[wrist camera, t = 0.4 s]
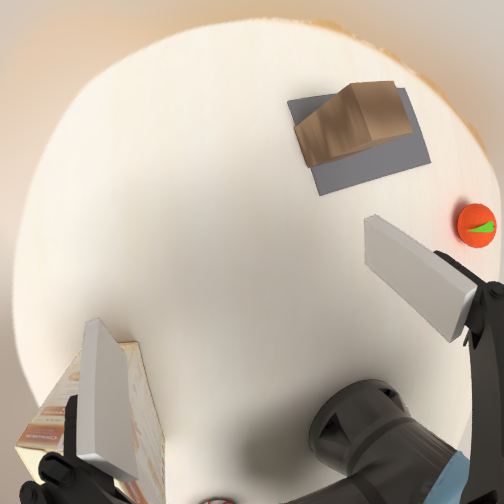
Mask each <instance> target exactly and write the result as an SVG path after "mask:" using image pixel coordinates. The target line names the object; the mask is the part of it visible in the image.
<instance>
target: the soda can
mask: <svg viewBox="0 0 504 504" xmlns="http://www.w3.org/2000/svg"><path fill="white" fill-rule="evenodd" d="M204 504H234V503H232V502H229V501H224V500H214V501H209V502H206V503H204Z"/></svg>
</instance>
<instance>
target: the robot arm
mask: <svg viewBox="0 0 504 504" xmlns="http://www.w3.org/2000/svg"><path fill="white" fill-rule="evenodd" d="M364 234H365V265H366V266H368V267H369V268H370V269H371V270H372V271H373V272H374V273H375V274H377V275H378V276H379V277H380V278H381V279H382V280H383V281H384V282H385V283H387V284H388V285H389V286H390V287H391V288H392V289H393V290H394V291H395V292H396V293H398V294H399V295H400V296H401V297H402V298H403V299H404V300H405V301H406V302H407V303H408V304H409V305H411V306H412V307H413V308H414V309H415V310H416V311H417V312H418V313H419V314H420V315H421V316H422V317H423V318H424V319H425V320H426V321H427V322H428V323H429V324H431V325H432V326H433V327H434V328H435V329H436V330H437V331H438V332H439V333H440V334H441V335H442V336H443V337H444V338H445V339H446V340H447V341H448V342H449V343H451V342H452V341H453V340H455V339H456V338H457V337H459V336H460V335H461V334H462V331H463V328H464V325H466V326H467V327H468V328H469V330H468V333H467V335H466V338H465V340H464V343H463V346H466V344H467V341H468V342H469V351H470V363H471V379H472V440H471V455H470V460H469V459H468V458H466V457H465V456H464V455H463V453H462V452H461V451H457V450H456V449H454V448H453V447H452V446H450V445H449V444H447V443H446V442H445V441H443V440H442V439H440V438H439V437H438V436H436V435H435V434H433V433H432V432H431V431H429V430H428V429H427V428H425V427H424V426H422V425H421V424H419V423H418V422H417V421H415V420H414V419H413V418H412V417H411V415H410V413H409V411H408V409H407V408H406V406H405V404H404V402H403V400H402V398H401V397H400V395H399V394H398V392H397V391H396V390H395V389H393V388H392V387H390V386H389V385H388V384H386V383H384V382H382V381H379V380H365V381H361V382H357V383H355V384H352V385H350V386H348V387H346V388H345V389H343V390H341V391H340V392H338V393H337V394H336V395H334V396H333V397H332V398H331V399H330V400H329V401H328V402H327V403H326V404H325V405H324V406H323V407H322V409H321V410H320V411H319V413H318V414H317V416H316V417H315V419H314V421H313V423H312V426H311V429H310V433H309V443H310V447H311V449H312V450H313V452H314V453H315V455H316V456H317V458H318V459H319V460H320V461H321V462H322V463H323V464H325V465H327V466H329V467H330V468H332V469H334V470H336V471H337V472H339V473H341V474H343V475H345V476H346V477H347V478H344V479H342V480H340V481H338V482H336V483H334V484H331V485H329V486H327V487H325V488H322V489H320V490H318V491H315V492H313V493H310V494H308V495H306V496H303V497H300V498H298V499H295V500H293V501H290V502H287V503H284V504H496V503H497V504H504V285H503V284H501V283H499V282H495V281H491V282H488V283H486V282H484V281H483V280H481V279H480V278H479V277H477V276H476V275H475V274H473V273H472V272H471V271H469V270H468V269H467V268H465V267H464V266H462V265H461V264H460V263H459V262H457V261H455V260H454V259H453V258H452V257H450V256H449V255H447V254H445V253H442V252H440V251H437V250H436V251H434V252H432V251H430V250H429V249H428V248H426V247H425V246H423V245H422V244H420V243H419V242H417V241H416V240H414V239H413V238H412V237H410V236H409V235H407V234H406V233H404V232H403V231H401V230H400V229H398V228H397V227H395V226H393V225H392V224H390V223H389V222H387V221H386V220H384V219H383V218H381V217H379V216H378V215H376V214H375V215H373V216H370V217H368V218H365V219H364ZM64 428H65V430H64V448H63V456H62V455H61V454H59V453H57V452H49V453H47V454H45V455H44V456H43V457H42V459H41V460H40V462H39V466H38V474H39V477H40V479H41V480H42V481H44V482H45V483H43V484H41V485H40V484H38V483H36V482H34V481H27V482H25V483H24V484H23V485H22V487H21V489H20V495H19V497H20V501H21V504H136V503H135V502H133V501H132V500H131V499H130V498H129V497H128V496H127V495H125V494H124V493H123V492H122V491H121V490H120V489H119V488H117V487H116V486H115V485H114V479H116V480H118V481H120V482H122V483H123V482H129V481H135V480H139V476H138V470H137V463H136V456H135V449H134V441H133V432H132V423H131V413H130V401H129V387H128V368H127V356H126V354H125V353H124V352H123V350H122V349H121V348H120V346H119V345H118V344H117V342H116V341H115V339H114V338H113V337H112V335H111V334H110V332H109V331H108V329H107V328H106V326H105V325H104V324H103V322H102V321H101V319H100V318H97V319H94V320H91V321H89V322H86V324H85V331H84V338H83V346H82V354H81V364H80V374H79V386H78V394H77V395H74V396H70V397H69V400H68V402H67V405H66V407H65V421H64ZM279 504H283V503H279Z"/></svg>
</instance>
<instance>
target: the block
mask: <svg viewBox="0 0 504 504" xmlns="http://www.w3.org/2000/svg"><path fill="white" fill-rule="evenodd" d="M294 129H295V131H296V134H297V137H298V140H299V143H300V146H301V148H302V151H303V154H304V157H305V160H306V163H307V166H308V168H310V167H314V166H317V165H321V164H325V163H329V162H333V161H337V160H340V159H344V158H347V157H349V156H352V155H354V154H357V153H359V152H362V151H365V150H367V149H370V148H372V147H375V146H378V145H380V144H383V143H386V142H388V141H391V140H394V139H396V138H399V137H402V136H405V135H407V134H410V133H413V130H412V127H411V125H410V122H409V119H408V116H407V114H406V111H405V108H404V106H403V103H402V101H401V98H400V96H399V93H398V91H397V88H396V86H395V84H394V81H377V82H362V83H350V84H349V85H348V86H346V87H345V88H344V89H342V90H341V91H340V92H338V93H337V94H336V95H335V96H333V97H332V98H331V99H330V100H328V101H327V102H326V103H324V104H323V105H322V106H321V107H319V108H318V109H317V110H316V111H314V112H313V113H312V114H311V115H310V116H308V117H307V118H306V119H305V120H303V121H302V122H301V123H300V124H299V125H297V126H296V127H295V128H294Z"/></svg>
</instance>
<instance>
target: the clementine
mask: <svg viewBox="0 0 504 504" xmlns="http://www.w3.org/2000/svg"><path fill="white" fill-rule="evenodd" d="M457 225H458V233H459V235H460V237H461V239H462V240H463V242H464V243H466V244H467V245H468V246H470V247H473V248H482V247H485V246H487V245H488V244H489V243H490V242H491V241H492V240H493V238H494V236H495V233H496V227H497V226H496V220H495V217H494V215H493V213H492V212H491V210H490V209H489V208H488V207H486V206H484V205H482V204H470V205H468V206H467V207H465V208H464V209H463V210H462V212H461V213H460V215H459V218H458V224H457Z"/></svg>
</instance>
